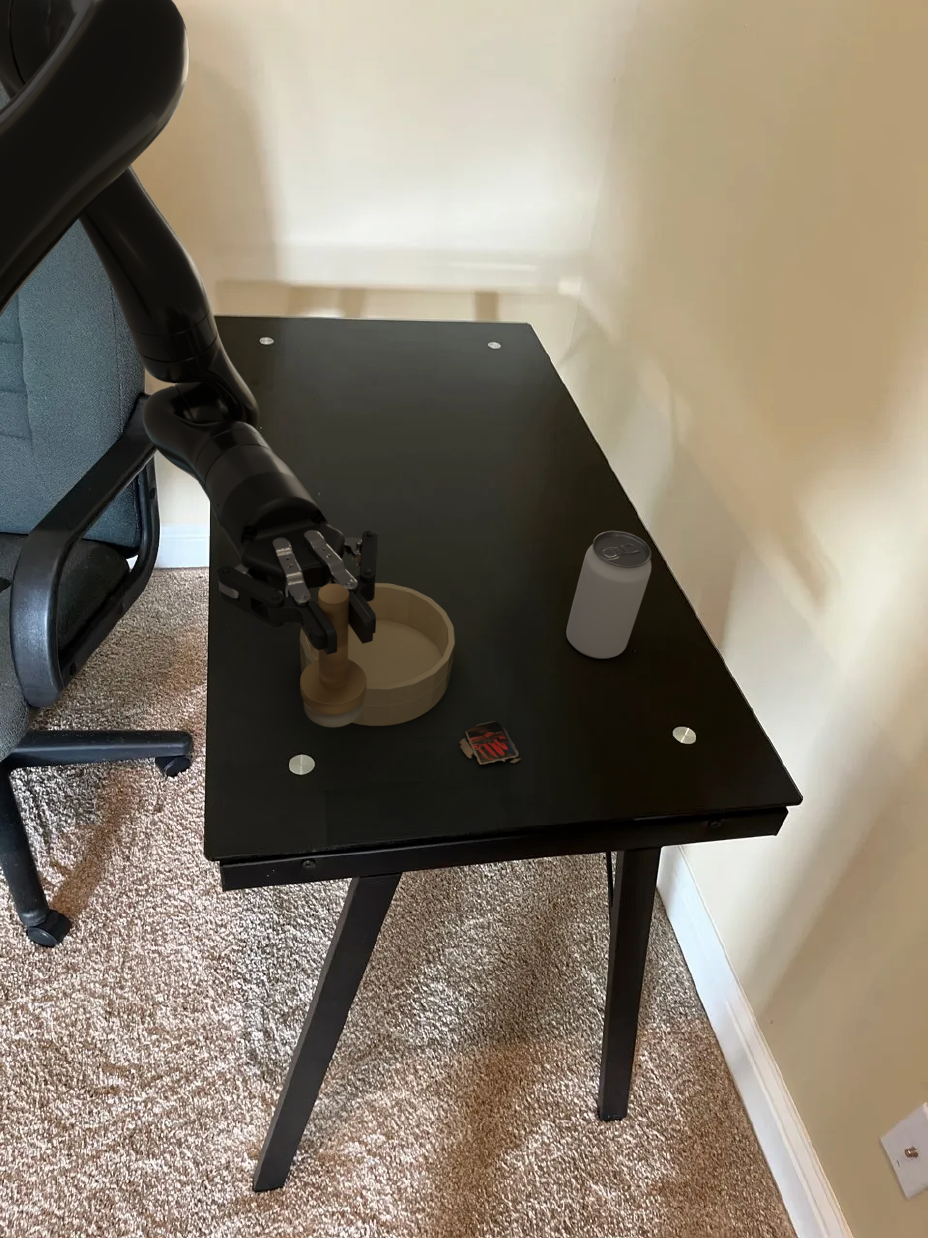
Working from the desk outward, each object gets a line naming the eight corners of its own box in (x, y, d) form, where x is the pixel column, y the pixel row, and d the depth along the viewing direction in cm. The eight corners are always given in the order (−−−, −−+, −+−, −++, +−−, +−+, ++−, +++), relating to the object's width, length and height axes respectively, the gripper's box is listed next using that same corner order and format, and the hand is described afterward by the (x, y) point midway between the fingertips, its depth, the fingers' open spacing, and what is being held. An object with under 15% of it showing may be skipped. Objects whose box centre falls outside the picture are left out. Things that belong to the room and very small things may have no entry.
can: (554, 625, 87) (576, 534, 79) (605, 613, 90) (632, 523, 82) (584, 667, 83) (611, 575, 75) (638, 653, 85) (669, 562, 77)
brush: (290, 719, 66) (284, 606, 58) (315, 675, 69) (313, 563, 61) (352, 736, 65) (355, 625, 57) (374, 690, 69) (379, 580, 61)
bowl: (277, 703, 76) (274, 664, 72) (334, 606, 86) (333, 569, 83) (426, 743, 74) (430, 705, 70) (465, 639, 84) (470, 603, 81)
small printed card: (493, 718, 77) (494, 715, 76) (527, 757, 74) (527, 753, 73) (451, 738, 74) (452, 735, 74) (485, 778, 71) (485, 775, 71)
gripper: (174, 487, 64) (253, 628, 53) (340, 454, 70) (440, 574, 59) (186, 563, 69) (260, 706, 58) (340, 526, 75) (432, 649, 64)
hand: (350, 638), depth 59 cm, fingers closed on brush
